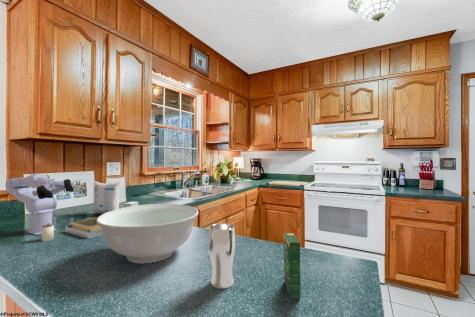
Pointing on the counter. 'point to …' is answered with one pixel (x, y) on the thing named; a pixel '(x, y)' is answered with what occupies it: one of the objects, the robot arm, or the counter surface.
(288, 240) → the coffee box
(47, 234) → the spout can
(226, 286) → the silver metal tumbler
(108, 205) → the pouch
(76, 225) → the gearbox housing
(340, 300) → the counter surface
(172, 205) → the bowl
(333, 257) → the counter surface
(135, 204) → the skincare box
